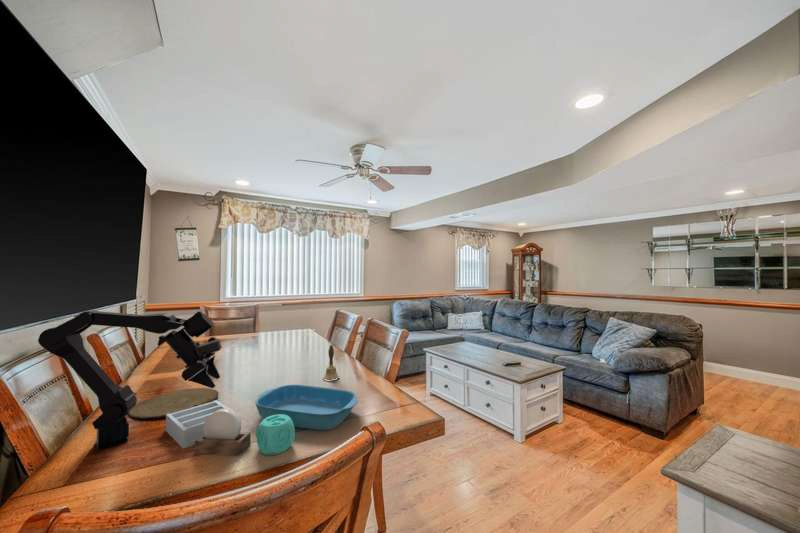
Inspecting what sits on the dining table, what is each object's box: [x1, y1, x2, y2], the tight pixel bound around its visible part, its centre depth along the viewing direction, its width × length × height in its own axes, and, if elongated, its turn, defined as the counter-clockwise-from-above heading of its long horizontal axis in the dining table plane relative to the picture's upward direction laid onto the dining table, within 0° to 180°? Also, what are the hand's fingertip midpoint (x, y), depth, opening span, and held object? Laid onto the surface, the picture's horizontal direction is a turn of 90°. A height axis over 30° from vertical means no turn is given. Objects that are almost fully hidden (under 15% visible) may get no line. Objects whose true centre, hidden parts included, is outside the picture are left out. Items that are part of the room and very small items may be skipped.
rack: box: [165, 399, 238, 450], centre depth 103 cm, size 15×17×5 cm
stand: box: [194, 431, 252, 456], centre depth 92 cm, size 13×6×4 cm, turn 86°
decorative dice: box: [255, 414, 296, 456], centre depth 93 cm, size 8×8×8 cm
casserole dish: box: [255, 384, 359, 431], centre depth 113 cm, size 37×22×7 cm, turn 76°
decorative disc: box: [128, 387, 220, 420], centre depth 123 cm, size 29×3×30 cm
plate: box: [203, 408, 242, 440], centre depth 92 cm, size 2×10×10 cm, turn 86°
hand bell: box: [322, 344, 340, 380], centre depth 154 cm, size 8×8×16 cm
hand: (216, 382), depth 105 cm, fingers open, 9 cm apart
